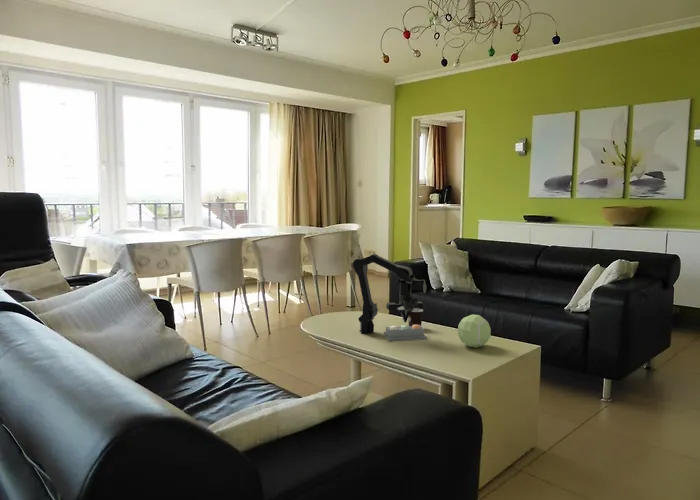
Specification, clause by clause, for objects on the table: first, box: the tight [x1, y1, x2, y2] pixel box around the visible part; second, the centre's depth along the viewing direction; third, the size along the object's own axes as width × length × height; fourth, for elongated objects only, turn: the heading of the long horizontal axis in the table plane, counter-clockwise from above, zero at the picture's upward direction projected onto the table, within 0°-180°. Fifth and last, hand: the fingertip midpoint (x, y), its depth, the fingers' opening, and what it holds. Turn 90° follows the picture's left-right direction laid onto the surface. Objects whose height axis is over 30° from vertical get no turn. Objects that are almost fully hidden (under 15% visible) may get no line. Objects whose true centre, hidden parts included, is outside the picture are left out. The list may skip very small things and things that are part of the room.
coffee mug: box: [407, 308, 424, 327], centre depth 285 cm, size 12×9×10 cm
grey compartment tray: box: [383, 325, 428, 342], centre depth 267 cm, size 19×13×4 cm
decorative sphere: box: [457, 314, 492, 349], centre depth 248 cm, size 15×15×15 cm
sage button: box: [400, 324, 409, 329], centre depth 266 cm, size 4×4×4 cm
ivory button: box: [389, 325, 398, 330], centre depth 265 cm, size 4×4×4 cm
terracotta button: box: [412, 325, 420, 329], centre depth 267 cm, size 4×4×4 cm
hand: (405, 322), depth 266 cm, fingers closed
